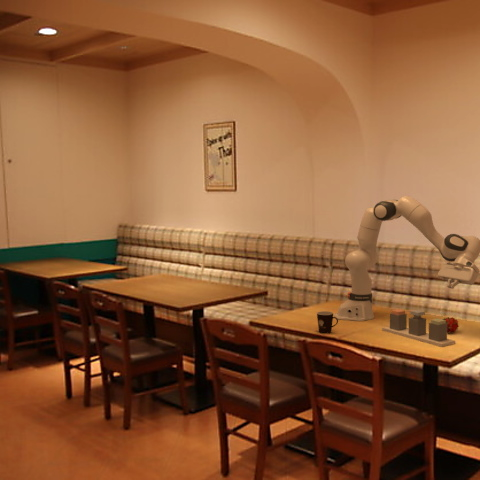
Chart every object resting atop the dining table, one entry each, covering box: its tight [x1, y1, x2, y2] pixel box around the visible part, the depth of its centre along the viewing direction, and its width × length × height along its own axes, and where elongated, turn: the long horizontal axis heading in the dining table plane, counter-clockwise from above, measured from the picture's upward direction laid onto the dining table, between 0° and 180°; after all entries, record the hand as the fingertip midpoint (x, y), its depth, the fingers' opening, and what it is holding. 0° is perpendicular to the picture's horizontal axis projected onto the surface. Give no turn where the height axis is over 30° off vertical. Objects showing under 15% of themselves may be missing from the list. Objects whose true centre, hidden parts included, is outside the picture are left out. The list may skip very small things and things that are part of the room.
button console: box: [381, 313, 456, 348], centre depth 310 cm, size 38×10×10 cm, turn 33°
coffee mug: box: [316, 310, 339, 334], centre depth 321 cm, size 12×9×10 cm
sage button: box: [430, 318, 446, 325], centre depth 299 cm, size 5×5×5 cm
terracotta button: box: [390, 308, 406, 315], centre depth 320 cm, size 5×5×5 cm
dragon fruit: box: [441, 316, 460, 334], centre depth 318 cm, size 8×8×12 cm
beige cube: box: [409, 309, 426, 319], centre depth 309 cm, size 5×5×5 cm
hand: (449, 287), depth 307 cm, fingers closed
